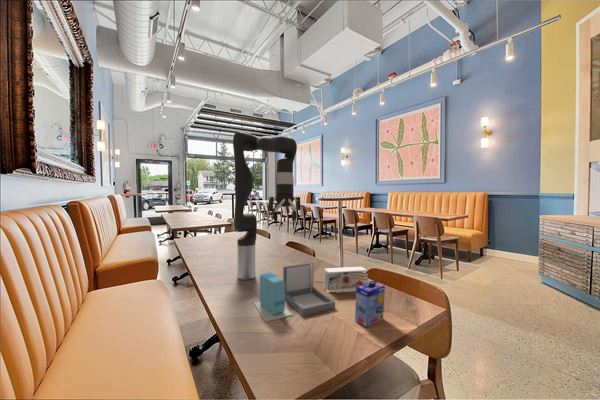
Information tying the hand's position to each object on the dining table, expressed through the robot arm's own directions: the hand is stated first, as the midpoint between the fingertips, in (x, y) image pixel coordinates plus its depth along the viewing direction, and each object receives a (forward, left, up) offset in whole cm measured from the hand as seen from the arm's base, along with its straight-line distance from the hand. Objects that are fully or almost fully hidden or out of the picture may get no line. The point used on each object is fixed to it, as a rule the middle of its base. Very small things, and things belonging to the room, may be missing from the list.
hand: (284, 220), depth 107 cm
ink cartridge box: (+34, +18, -32) cm, 50 cm away
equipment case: (+13, +5, -32) cm, 35 cm away
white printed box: (+8, +28, -32) cm, 43 cm away
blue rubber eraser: (+12, -10, -32) cm, 36 cm away
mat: (+12, -10, -32) cm, 36 cm away
